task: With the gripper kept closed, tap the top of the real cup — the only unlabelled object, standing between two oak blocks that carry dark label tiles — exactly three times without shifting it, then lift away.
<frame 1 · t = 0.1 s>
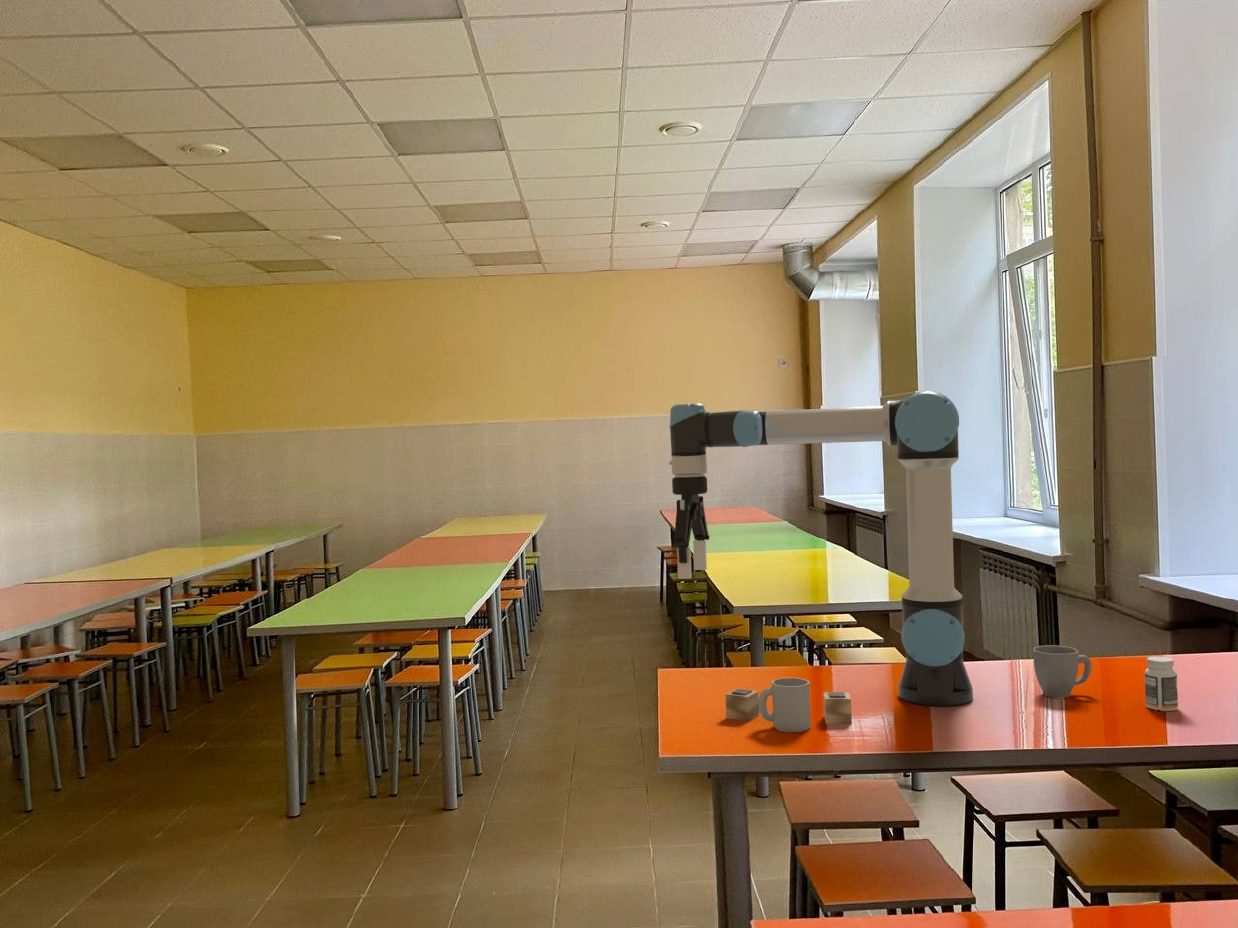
hand: (692, 574, 213), 28 cm above the table, fingers open, 13 cm apart
pill bottle: (1161, 709, 197), on the table
oak block 2: (837, 720, 197), on the table
mug: (1064, 695, 210), on the table
cup: (784, 728, 193), on the table
oak block 1: (742, 717, 202), on the table
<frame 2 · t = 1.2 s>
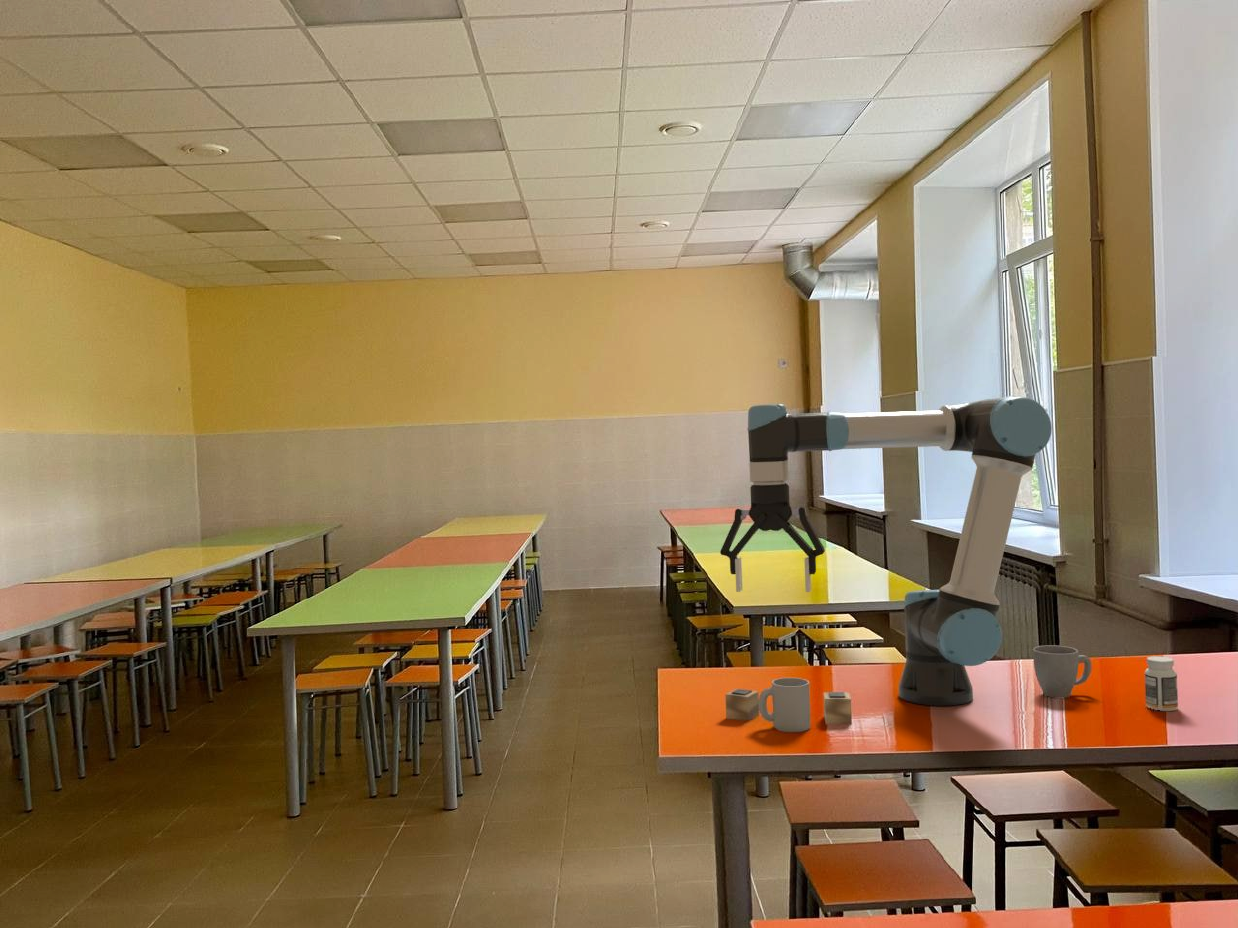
hand: (773, 591, 194), 27 cm above the table, fingers open, 13 cm apart
nothing on the table moved.
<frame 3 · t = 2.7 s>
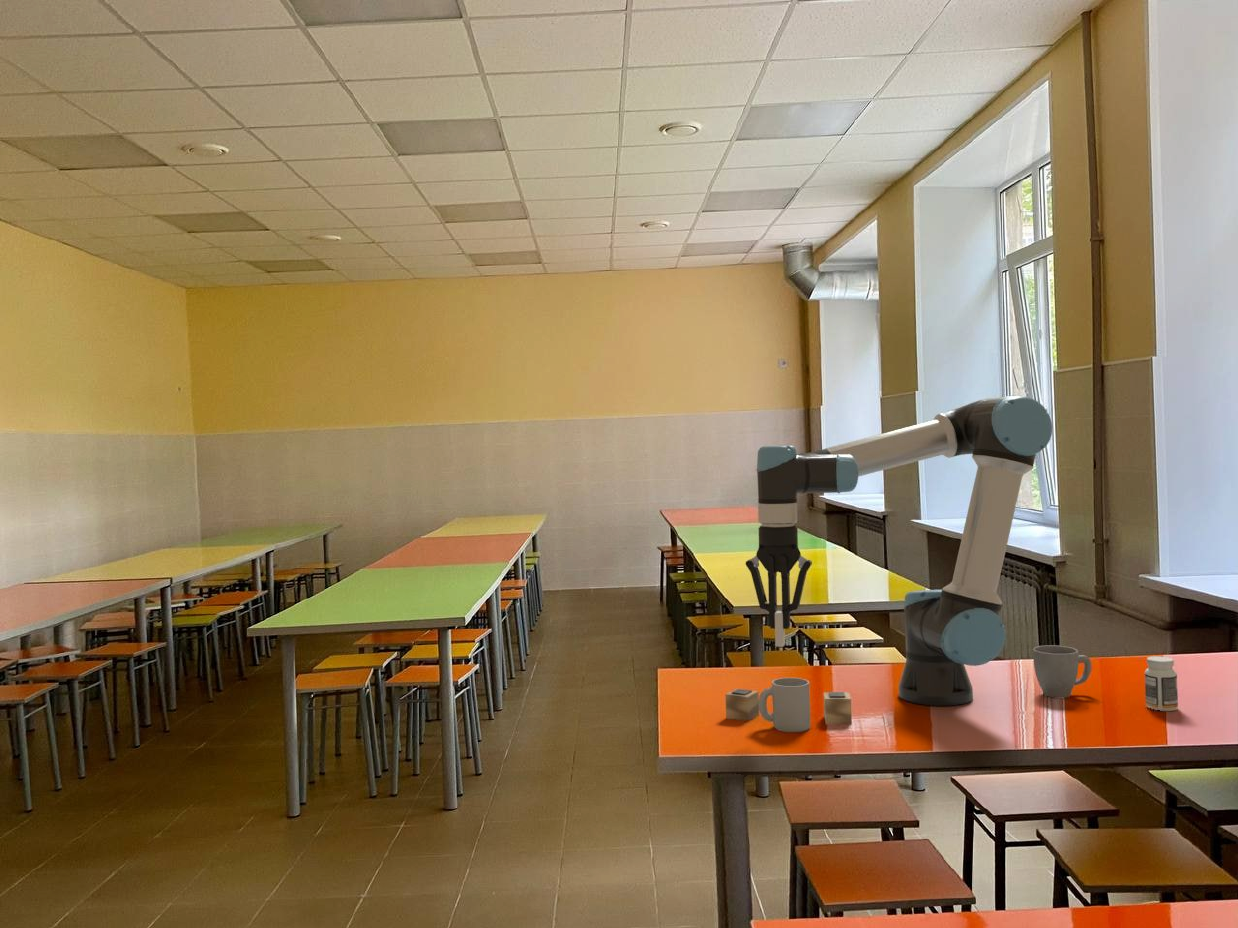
hand: (780, 645, 193), 16 cm above the table, fingers closed
nothing on the table moved.
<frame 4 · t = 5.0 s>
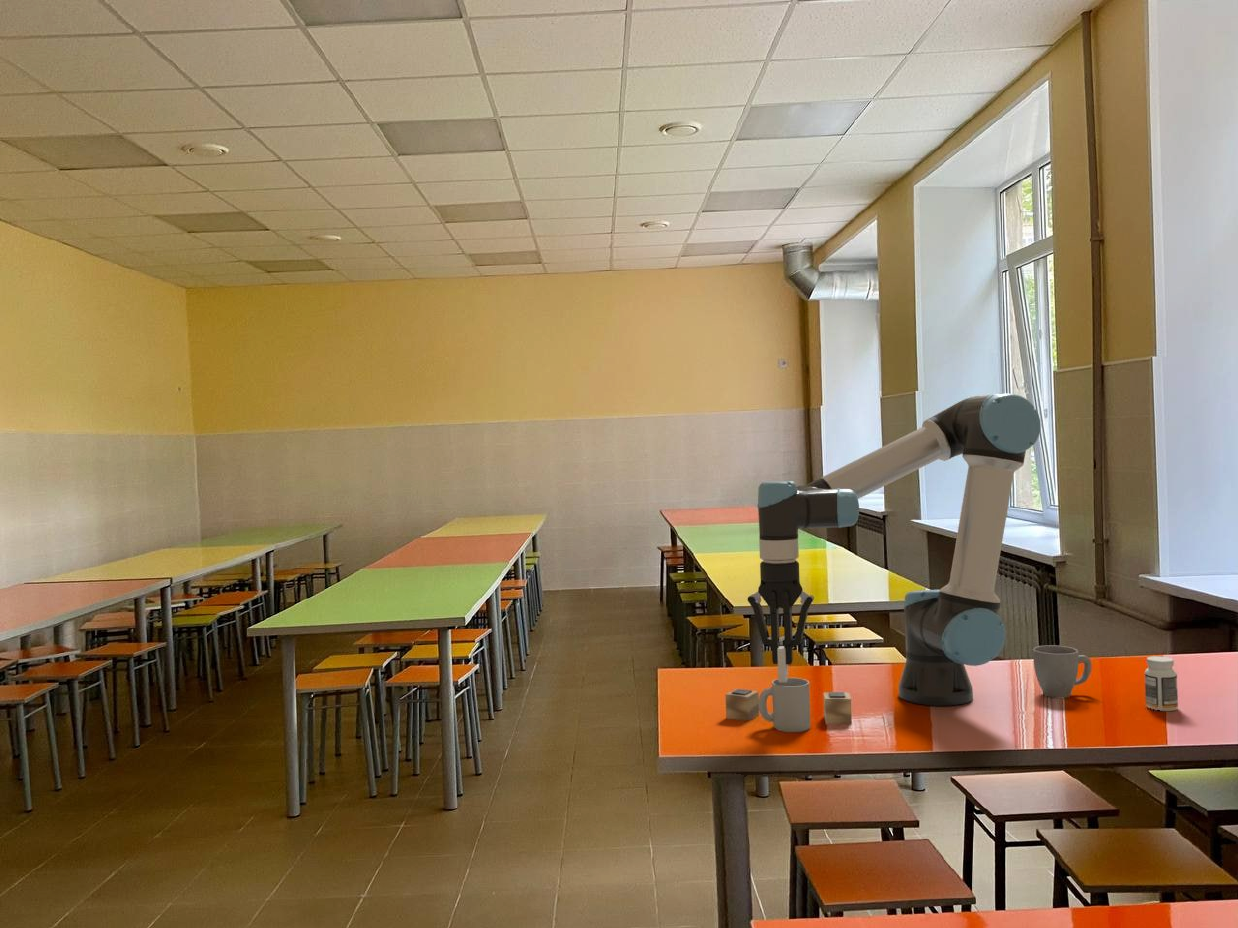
hand: (783, 680, 193), 9 cm above the table, fingers closed
nothing on the table moved.
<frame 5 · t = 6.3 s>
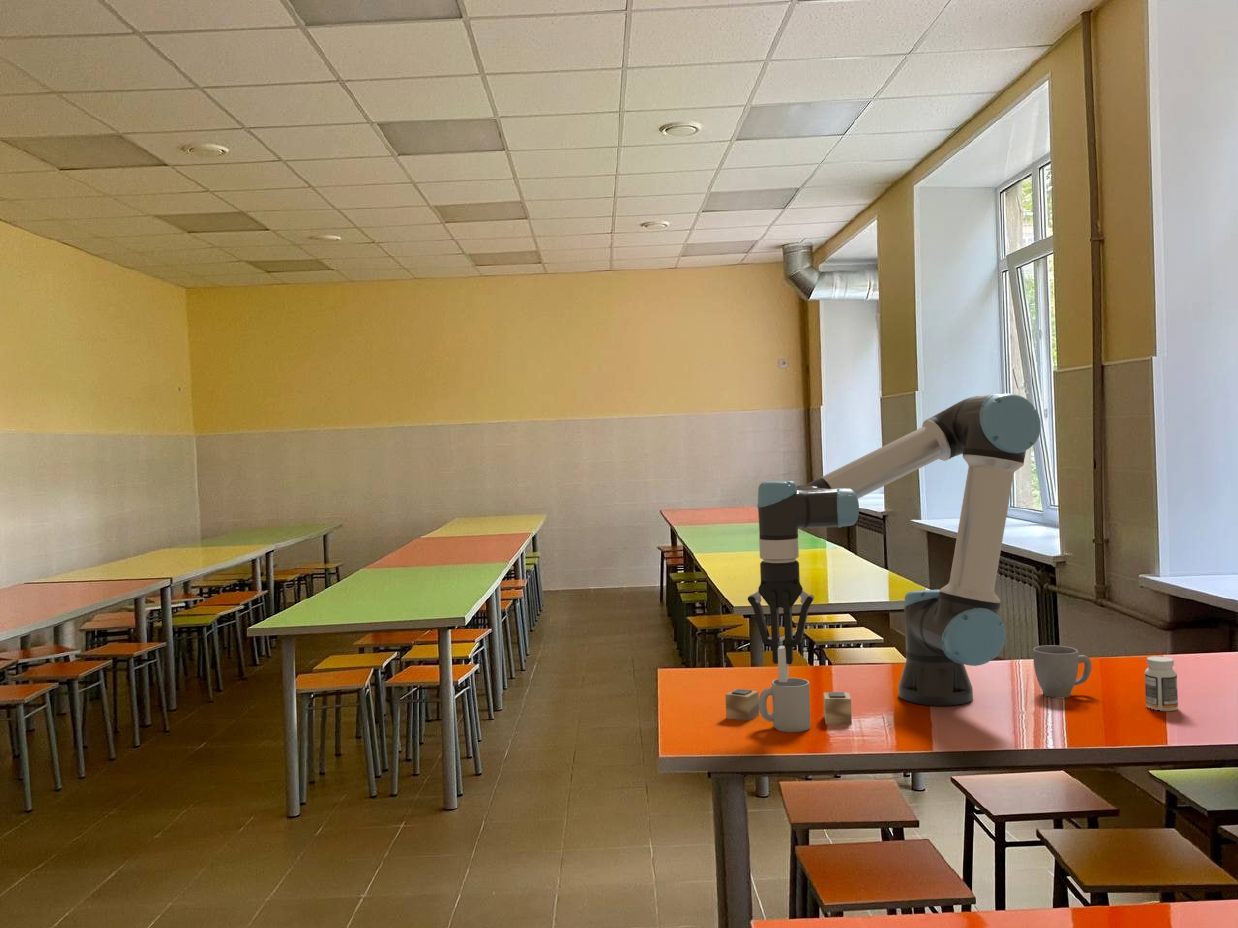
hand: (783, 680, 193), 9 cm above the table, fingers closed
nothing on the table moved.
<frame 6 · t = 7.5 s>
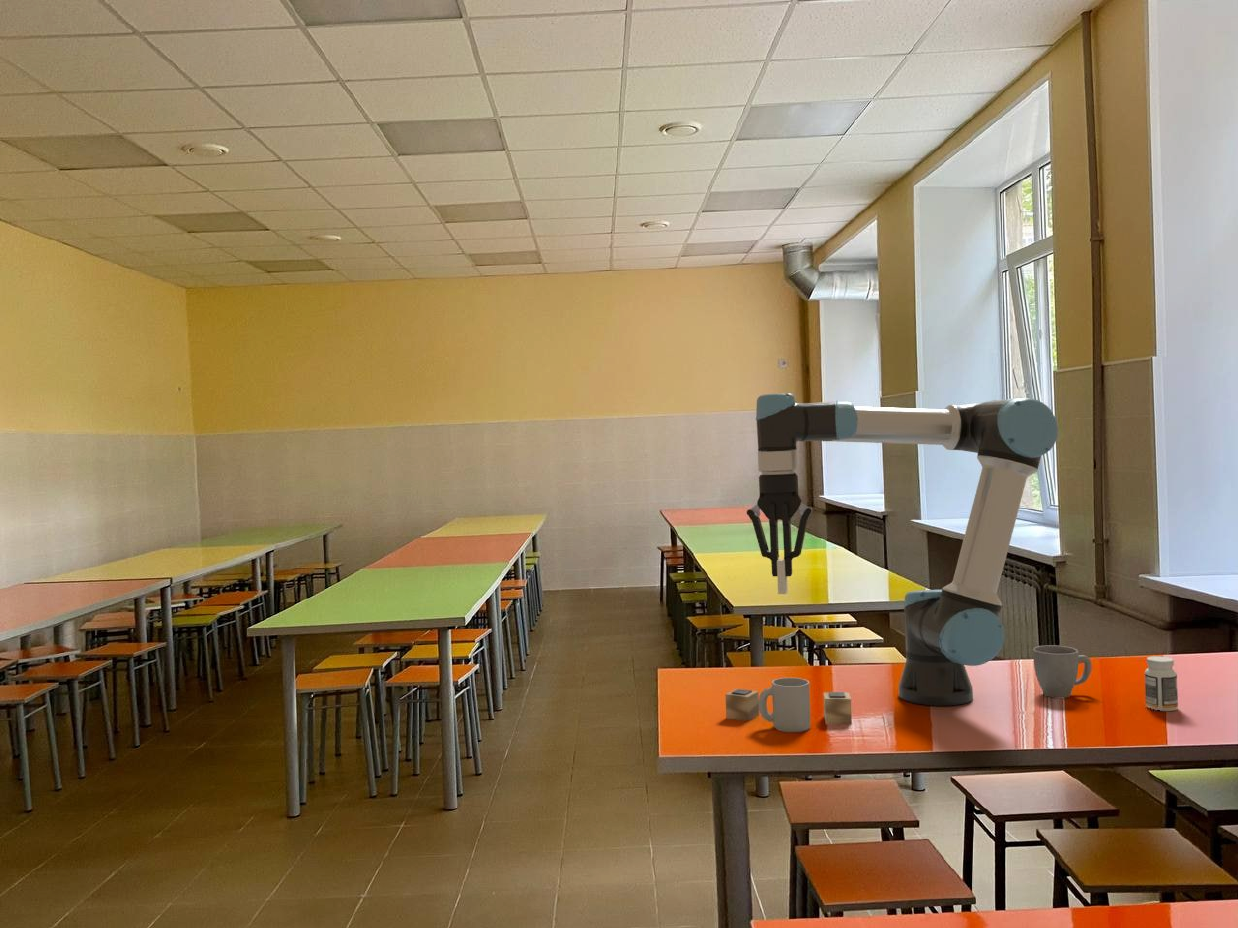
hand: (782, 593, 194), 26 cm above the table, fingers closed
nothing on the table moved.
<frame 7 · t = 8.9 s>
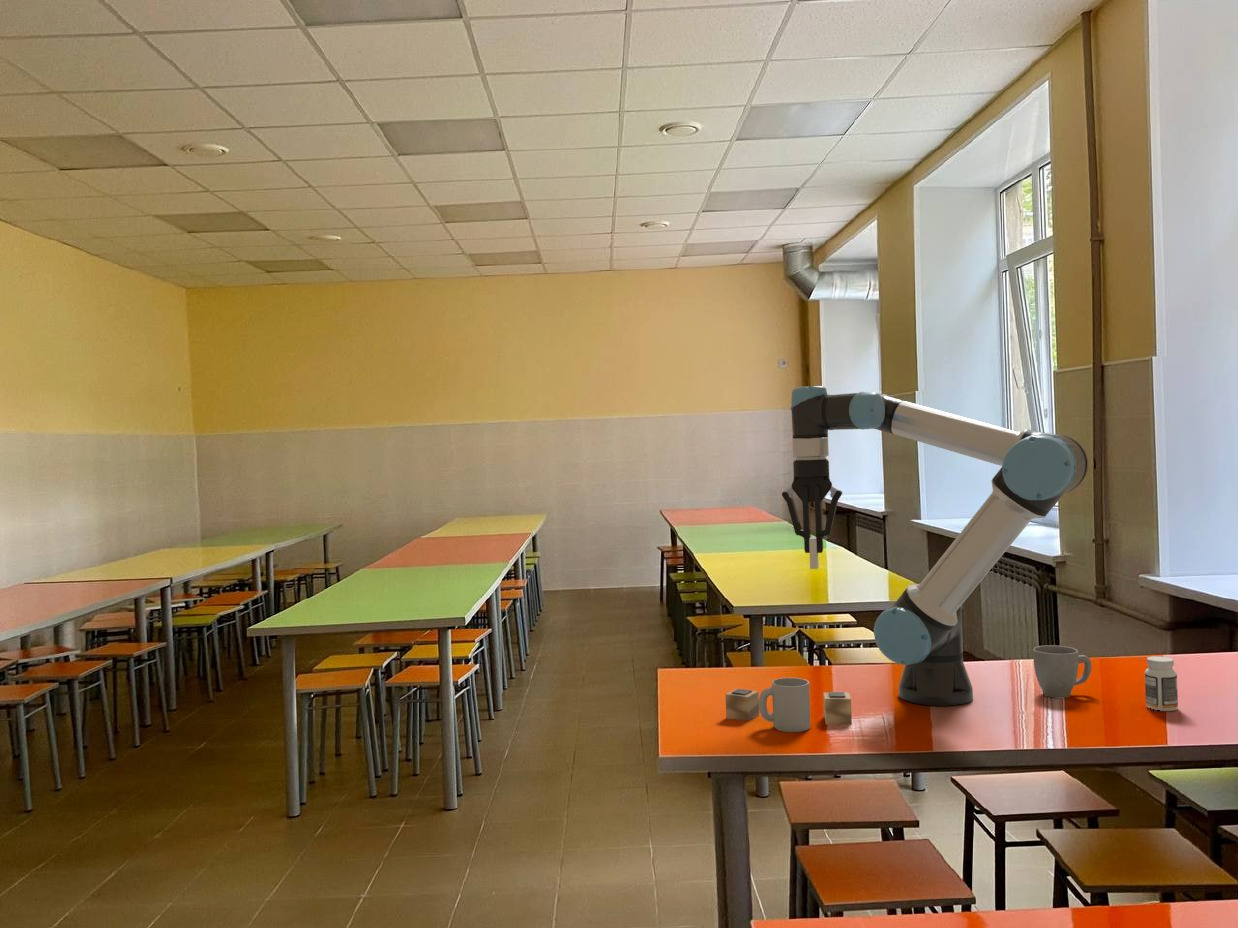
hand: (814, 568, 212), 28 cm above the table, fingers closed
nothing on the table moved.
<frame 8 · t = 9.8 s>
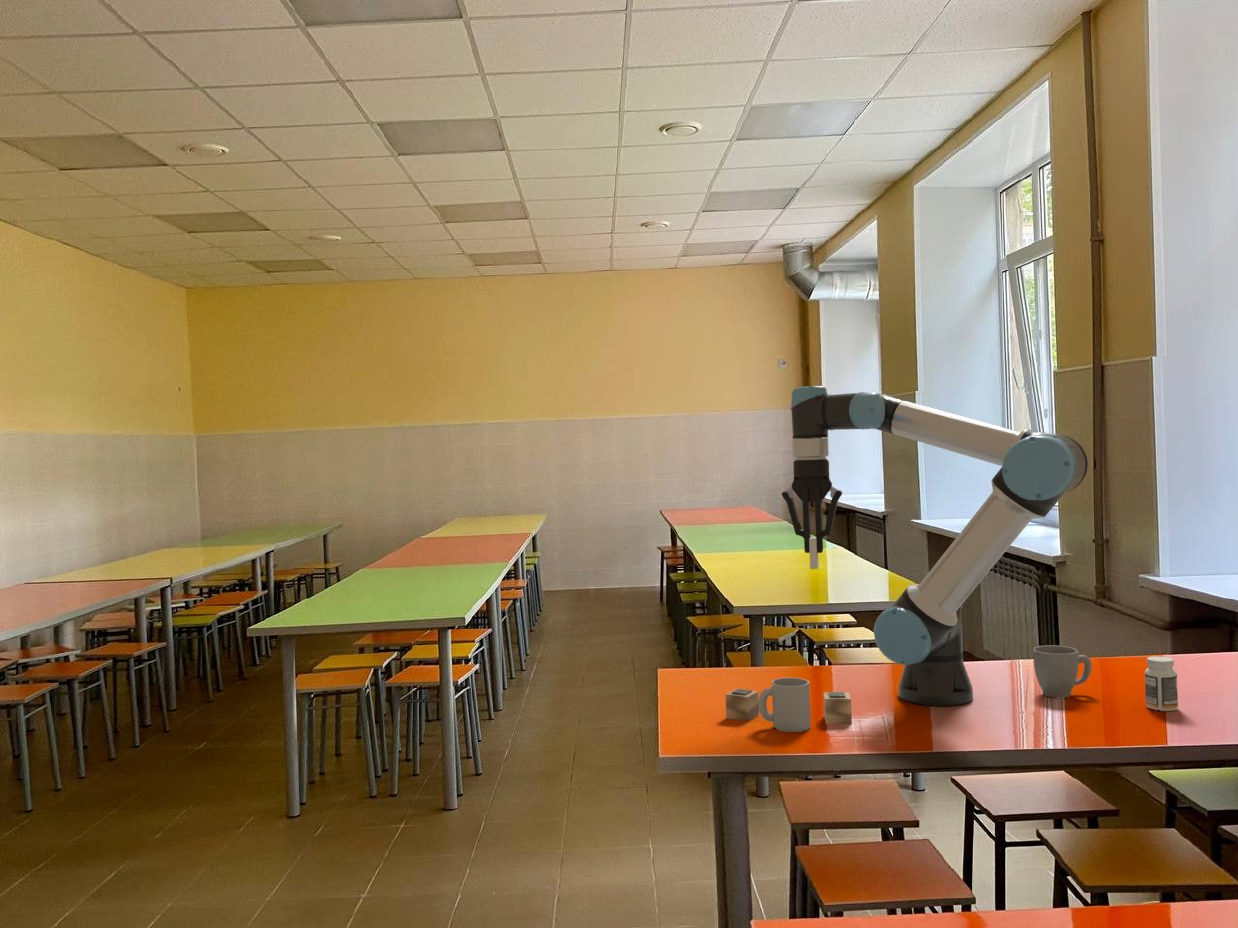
hand: (814, 568, 212), 28 cm above the table, fingers closed
nothing on the table moved.
at the end: cup moved 0.2 cm from its start; cup tilted 0°; the gripper is holding nothing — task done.
